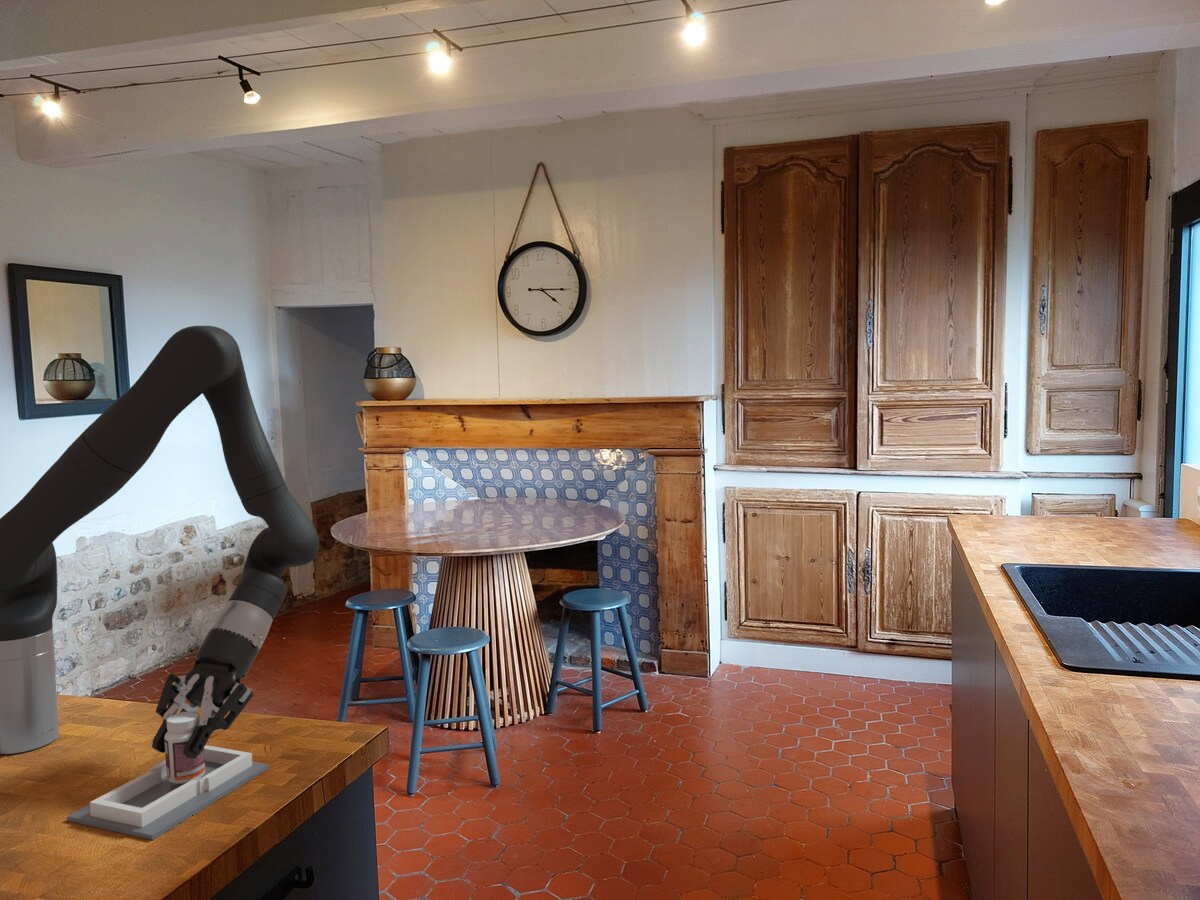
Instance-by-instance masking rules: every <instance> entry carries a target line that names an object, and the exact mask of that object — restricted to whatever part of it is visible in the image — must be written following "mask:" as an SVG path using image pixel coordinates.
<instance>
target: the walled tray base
mask: <svg viewBox="0 0 1200 900" xmlns="http://www.w3.org/2000/svg"><path fill="white" fill-rule="evenodd" d="M204 757H205V773H204V775H203V776H201V777H200V776H198V777H196V778H194V779H193V780H191V781H189V782H187V783H181V784H176V783H171V782H169V781H168V780H167V772H166V759H164V760H162V761H160V762H157V763H155V765H153V766H151V767H150V769H149V770H147V772H145V773H143V774H141V775H139V776H137V777H136V778H134V779H131V780H130V781H128V782H126V783H124V784H122V785H120V786H118V787H116V788H114V789H112V790H110V791H108V792H107V793H105V794H103V795H101V796H99V797H97V798H96V799H93V800H91V801H89V804H87V805H86V806H84V807H82V808H80V809H78V810H76V811H74V812H73V813H70V814H69V815H66V817H67V821H68V822H71V823H76V824H81V825H84V826H88V827H93V828H98V829H100V830H101V829H102V830H106V831H111V832H115V833H120V834H122V835H123V834H124V835H127V836H133V837H138V838H141V839H146V840H149V841H154V840H156V839H157V838H159V837H160V836H162V835H164V834H165V833H167V832H168V830H169V831H171V830H172V829H173V828H176V827H177V826H178V825H180V824H182V823H183V822H185V821H186V820H188V819H189V817H190V818H192V817H193V816H194V815H196V814H198V813H200V812H201V811H202V810H204V809H206V808H207V807H209V806H211V805H213V804H214V803H215V802H217V801H218V799H219V800H220V799H222V798H224V797H225V796H227V795H228V794H230V793H232V792H234V791H235V790H237V789H238V788H241V786H243V785H244V784H246V783H248V782H249V781H251V780H253V779H254V778H257V777H258V776H259V775H261V774H262V773H265V771H268V770H269V769H270V767H269V766H270V764H267V763H264V762H257V761H253V753H252V752H247V751H242V750H235V749H232V748H231V749H230V748H224V747H218V746H212V745H208V744H206V745H205V747H204ZM223 796H224V797H223ZM192 815H193V816H192ZM181 822H182V823H181ZM179 823H180V824H179ZM176 825H177V826H176ZM166 831H167V832H166ZM163 833H164V834H163ZM155 838H156V839H155Z"/></svg>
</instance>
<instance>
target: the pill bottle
mask: <svg viewBox="0 0 1200 900" xmlns="http://www.w3.org/2000/svg"><path fill="white" fill-rule="evenodd" d="M200 718H201V716H200V713H198V712H196V711H195V712H191V711H190V712H181V713H179V712H177V713H176V714H174V715H172V716H170V717H169V718H168V719H167V730H168V732H167V733H166V734H165V737H164V741H165V752H164V753H165V760H166V772H167V780H168V781H169V782H171V783H176V784H181V783H187V782H189V781H191V780H193V779H194V778H196V777H198V776H200V777H201V776H203V775H204V773H205V757H204V749H203V751H202V752H201V753H200V754H199V755H198V756H197V757H196V758H195V759H194V758H189V757H188V756H186V755H185V754H183V750H184V748H185V746H186V744H187V742H188V740H189V738H190V737H191V735H192V733H193V731H194V729H195V727H196V726H200V724H199V722H200Z"/></svg>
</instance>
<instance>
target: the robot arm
mask: <svg viewBox="0 0 1200 900" xmlns="http://www.w3.org/2000/svg"><path fill="white" fill-rule="evenodd" d="M241 354H242V353H241V350H240V347H239V343H238V341H237V340H236V339H235V337H233V336H232V334H231V333H229V332H228V331H226V330H224V329H223V328H221V327H218V326H212V325H192V326H191V325H190V326H187V327H183V328H181V329H179V330H178V331H176V332H174V333H173V335H172V336H170V337H169V338H168V340H167V341H166V342H165V343H164V345H163V346H162V348H161V349H160V350H159V352H158V353H157V354H156V356H155V357H154V358H153V360H152V361H151V362H150V364H149V365H148V366H147V367H146V368H145V370H143V372H142V373H141V375H140V376H139V378H137V380H136V381H135V383H133V385H131V387H130V388H129V389H128V390H127V391H126V392H125V393H123V394H122V395H121V396H120V397H119V398H118V399H116V400H115V401H114V402H113V403H112V404H111V405H110V406H109V407H108V408H107V409H105V410H104V412H102V413H101V414H100V415H99V416H98V417H97V418H96V419H95V420H94V421H93V422H92V423H90V425H89V426H88V427H87V428H85V430H84V431H82V433H81V434H80V435H79V436H78V437H77V438H76V439H75V440H74V441H73V442H72V443H71V444H70V445H69V446H68V447H67V448H66V449H65V451H64V452H63V453H62V454H61V455H60V457H59V458H58V459H57V460H56V461H55V462H54V463H53V464H52V465H51V466H50V467H49V468H48V469H47V471H46V472H44V474H43V475H42V476H41V477H40V478H39V479H38V480H37V481H36V482H35V483H34V485H33V486H32V487H31V488H30V490H29V491H28V492H27V493H26V494H25V495H24V496H23V497H22V498H21V500H19V501H18V502H17V503H16V504H15V505H14V506H13V507H12V508H11V509H10V510H9V511H7V512H6V513H4V515H2V516H1V517H0V755H11V754H18V753H19V754H20V753H24V752H25V753H26V752H29V751H33V750H36V749H39V748H42V747H44V746H47V745H49V744H50V743H53V742H54V741H56V739H58V737H59V736H60V727H59V726H60V725H59V708H58V706H59V705H58V692H57V691H58V690H57V689H58V688H57V678H56V677H57V675H56V673H57V672H56V659H55V658H56V657H55V645H54V644H55V643H54V640H55V639H54V627H53V626H54V625H53V618H54V613H55V612H56V608H57V604H58V564H57V563H58V561H57V554H56V548H55V545H54V542H55V541H56V539H57V538H59V537H60V536H61V534H63V533H64V532H65V531H67V530H68V529H69V528H70V527H71V526H73V525H74V524H76V523H77V522H79V521H80V520H81V519H83V518H85V517H86V516H87V515H89V514H91V513H92V512H93V511H95V510H96V509H97V508H98V507H100V506H102V505H103V504H104V503H105V502H107V501H108V500H110V499H111V498H112V497H113V496H114V495H116V494H117V493H118V492H119V491H121V489H123V488H124V487H125V485H126V484H128V482H129V481H130V480H131V479H132V478H133V477H134V476H135V475H136V474H137V472H139V471H140V470H141V469H142V467H144V465H145V464H146V462H148V460H149V459H150V457H151V456H152V455H153V453H155V450H156V448H157V446H158V445H159V444H160V442H161V439H162V438H163V436H164V434H165V433H166V431H167V430H168V428H169V427H170V425H171V424H172V423H173V422H174V420H175V419H176V418H177V417H178V416H179V415H180V414H181V413H182V412H183V411H184V410H185V409H187V407H189V405H191V404H192V403H193V402H194V401H195V400H196V399H198V398H199V397H200V396H202V395H203V397H204V398H205V400H206V402H207V404H208V405H209V407H210V408H209V409H210V410H211V412H212V414H213V418H214V420H215V423H216V425H217V428H218V429H217V430H218V433H219V438H220V442H221V447H222V453H223V457H224V462H225V465H226V467H227V471H228V474H229V476H230V479H231V482H232V484H233V486H234V488H235V491H236V493H237V495H238V497H239V500H240V502H241V504H242V506H243V508H244V510H245V512H246V513H247V514H248V515H250V516H252V517H258V518H261V519H262V520H263V521H264V523H266V525H267V527H265V528H264V529H263V530H261V531H260V532H259V533H258V534H257V536H255V538H254V540H253V542H252V543H251V544H250V547H249V550H248V553H247V556H246V559H245V562H244V566H243V570H242V575H241V578H240V580H239V582H238V584H237V585H236V586H235V589H234V590H233V592H232V593H231V595H230V597H229V599H228V600H227V603H226V604H225V606H223V608H222V610H221V611H220V612H219V613H218V615H217V617H216V619H215V620H214V622H213V624H212V626H211V628H210V629H209V631H208V633H207V634H206V636H205V638H204V640H203V642H202V643H201V645H200V646H199V649H198V650H197V652H196V654H195V662H194V666H193V667H192V668H191V669H190V670H189V671H188V672H187V673H186V675H180V676H178V675H177V674H175V673H170V674H168V675H167V678H166V680H165V683H164V686H163V688H162V691H161V695H160V698H159V700H158V702H157V706H156V709H155V713H156V714H157V715H159V716H160V717H161V718H162V719H163V721H162V723H161V725H160V727H159V728H158V730H157V732H156V734H155V736H154V737H153V739H152V742H151V743H152V745H151V747H152V749H154V750H155V751H156V752H158V753H163V754H164V753H165V741H164V737H165V734H166V733H167V732H168V730H167V719H168V718H169V717H170V716H172V715H174V714H177V713H181V712H190V711H191V712H196V711H197V709H199V708H200V709H201V714H200V722H199V726H196V727H195V729H194V731H193V733H192V735H191V737H190V738H189V740H188V742H187V744H186V746H185V748H184V750H183V754H185V755H186V756H188V757H189V758H194V759H195V758H196V757H197V756H198V755H199V754H200V753H201V752H202V751H203V749H204V747H205V745H207V743H208V741H209V739H210V737H211V735H212V734H213V733H215V732H216V731H217V730H224V731H226V730H228V729H229V728H230V727H231V726H232V724H233V722H234V721H235V720H236V719H237V718H238V716H239V715H240V713H241V712H242V711H243V710H244V708H246V706H247V705H248V703H249V702H250V701H251V699H252V698H253V697H254V692H253V691H252V690H251V688H249V687H248V686H247V685H245V684H244V683H241V681H242V679H244V678H245V677H246V676H247V675H248V673H249V671H250V669H251V668H252V666H253V664H254V661H255V660H256V658H257V656H258V655H259V652H260V650H261V648H262V646H263V644H264V642H265V640H266V639H267V636H268V634H269V631H270V629H271V626H272V623H273V621H274V619H275V617H276V616H277V613H279V610H280V608H281V606H282V605H283V604H282V603H283V602H284V600H285V598H286V595H287V586H286V584H285V582H284V581H283V580H282V579H281V578H282V575H283V573H284V571H285V570H286V569H288V568H294V567H295V568H296V567H302V566H306V565H307V564H309V563H311V562H312V561H313V560H315V558H316V557H317V555H318V552H319V548H320V547H319V546H320V541H319V540H320V539H319V535H318V532H317V528H316V527H315V524H314V523H313V521H312V520H311V518H310V516H309V515H308V514H307V513H306V512H305V511H304V509H303V508H302V506H301V505H300V503H299V502H298V501H297V500H296V498H295V497H294V496H293V495H292V494H291V492H290V491H289V489H288V488H289V487H288V486H287V483H286V481H285V479H284V476H283V473H282V471H281V468H280V466H279V464H278V462H277V460H276V458H275V455H274V453H273V451H272V449H271V446H270V444H269V441H268V439H267V437H266V435H265V432H264V429H263V426H262V424H261V422H260V418H259V416H258V413H257V410H256V407H255V405H254V401H253V397H252V394H251V391H250V387H249V383H248V379H247V376H246V371H245V366H244V362H243V358H242V355H241ZM186 700H187V701H188V702H189V703H187V702H186ZM179 711H180V712H179Z"/></svg>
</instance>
